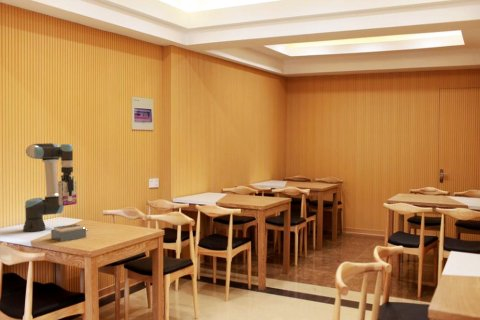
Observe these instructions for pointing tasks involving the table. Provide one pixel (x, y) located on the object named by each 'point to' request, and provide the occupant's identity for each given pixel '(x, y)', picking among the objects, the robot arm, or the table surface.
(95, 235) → the table surface
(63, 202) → the candy bar box
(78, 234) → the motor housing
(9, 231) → the table surface
